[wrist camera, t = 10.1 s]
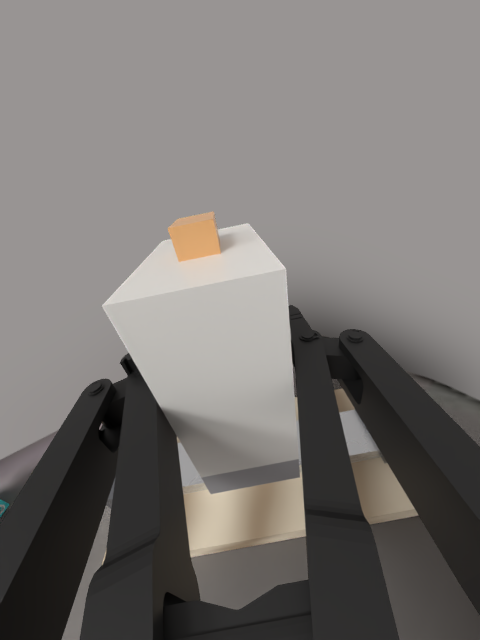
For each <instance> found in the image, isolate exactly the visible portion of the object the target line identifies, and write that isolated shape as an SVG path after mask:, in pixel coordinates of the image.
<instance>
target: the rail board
mask: <svg viewBox="0 0 480 640" xmlns="http://www.w3.org/2000/svg"><path fill="white" fill-rule="evenodd" d="M334 392H335V396H336V401H337V405H338V409H339V412H344V411H350V410H355V408H354V407H353V405H352V403H351V402H350V400H349V398H348V397H347V395H346V393H345V392H344V390H343V388H342V389H336V390H334ZM295 411H296V421H297V420H298V404H297V397H295ZM177 443H180V440H179V439H178V437H177ZM351 465H352V469H353V473H354V478H355V482H356V486H357V491H358V495H359V499H360V504H361V507H362V511H363V514H364V516H365V518H366V519H367V521H368V522H369V525H370V524H375V523H381V522H386V521H392V520H397V519H402V518H408V517H413V516H419V515H418V513H417V512H416V510H415V508H414V507H413V505H412V503H411V502H410V500H409V498H408V497H407V495H406V493H405V492H404V490H403V488H402V487H401V485H400V483H399V482H398V480H397V478H396V477H395V475H394V473H393V472H392V470H391V468H390V467H389V465H388V463H384V461H383V460H382V458H381V457H380V458H375V459H369V460H364V461H359V462H353V463H351ZM183 496H184V504H185V513H186V522H187V531H188V539H189V548H190V556H191V557H196V556H201V555H207V554H212V553H218V552H223V551H228V550H234V549H239V548H245V547H250V546H256V545H261V544H267V543H272V542H277V541H283V540H288V539H294V538H299V537H305V536H306V530H305V514H304V499H303V483H302V472H300V477H299V478H294V479H289V480H283V481H278V482H273V483H267V484H262V485H257V486H252V487H246V488H241V489H236V490H231V491H225V492H220V493H215V494H210V492H209V490H203V491H198V492H193V493H187V494H183ZM106 550H107V549H106ZM105 556H106V552H105ZM105 556H104V559H103V562H104V560H105ZM103 562H102V565H103Z"/></svg>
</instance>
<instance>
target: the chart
mask: <svg viewBox="0 0 480 640" xmlns="http://www.w3.org/2000/svg"><path fill="white" fill-rule="evenodd" d="M9 505H10V504H8V503H6V502H4V501H2V500H1V499H0V517H1V516H2V515H3V513H4V512H5V510H6V509H7V507H8V506H9Z"/></svg>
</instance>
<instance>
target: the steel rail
mask: <svg viewBox="0 0 480 640" xmlns="http://www.w3.org/2000/svg"><path fill="white" fill-rule="evenodd" d="M339 413H340V418H341V422H342V426H343V431H344V435H345V439H346V443H347V448H348V452H349V456H350V461H351V463H353V462H359V461H364V460H369V459H375V458H380V457H381V458H382V460H383V461H384V463H387V462H386V460H385V458H384V457H383V455H382V453H381V452H380V450H379V448H378V447H377V445H376V443H375V442H374V440H373V438H372V437H371V435H370V433H369V432H368V430H367V428H366V427H365V425H364V423H363V422H362V420H361V418H360V417H359V415H358V413H357V412H356V410H350V411H344V412H339ZM296 426H297V441H298V456H299V471H300V472H302V467H301V451H300V435H299V420H297V421H296ZM178 452H179V461H180V469H181V478H182V487H183V494H187V493H193V492H198V491H203V490H208V489H207V487H206V485H205V484H204V482H203V480H202V478H201V477H200V475H199V473H198V471H197V470H196V468H195V466H194V465H193V463H192V461H191V459H190V458H189V456H188V454H187V452H186V451H185V449H184V447H183V446H182V444H181V442H180V443H178ZM114 484H115V479H114V482H113V485H112V488H111V491H110V494H109V497H108V500H107V503H106V505H107V506H108V507H110V508H111V509H112V501H113V492H114Z"/></svg>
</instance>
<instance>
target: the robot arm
mask: <svg viewBox="0 0 480 640" xmlns="http://www.w3.org/2000/svg"><path fill="white" fill-rule="evenodd" d="M288 307H289V322H290V336H291V351H292V366H293V364H294V367H295V372H296V388H297V404H298V420H299V435H300V451H301V467H302V483H303V499H304V514H305V530H306V546H307V562H308V578H309V580H304V581H299V582H293V583H288V584H282V585H278V586H276V587H274V588H273V589H271V590H270V591H268V592H267V593H265V594H264V595H262V596H260V597H259V598H257V599H256V600H254V601H253V602H251V603H250V604H248V605H246V606H245V607H243V608H242V609H239V610H233V609H230V608H226V607H222V606H218V605H214V604H210V603H206V602H202V601H200V594H199V588H198V583H197V578H196V575H195V572H194V569H193V566H192V562H191V556H190V548H189V539H188V531H187V522H186V513H185V504H184V496H183V487H182V478H181V469H180V461H179V452H178V443H177V435H176V433H175V432H174V430H173V428H172V427H171V425H170V423H169V421H168V420H167V418H166V416H165V414H164V413H163V411H162V409H161V408H160V406H159V404H158V402H157V401H156V399H155V397H154V395H153V394H152V392H151V390H150V389H149V387H148V385H147V383H146V382H145V380H144V378H143V376H142V375H141V373H140V371H139V370H138V368H137V366H136V364H135V363H134V361H133V359H132V357H131V356H130V354H129V353H128V354H127V355H125V357H124V358H123V359H122V360H121V362H120V364H121V365H122V367H123V368H124V370H125V372H126V373H127V375H128V377H127V378H125V379H123V380H121V381H118V382H116V383H114V384H112V382H111V381H110V380H109V379H101V380H98V381H96V382H94V383H92V384H90V385H89V386H88V387H87V388H86V389H85V390H84V391H83V392H82V394H81V396H80V397H79V399H78V400H77V402H76V404H75V405H74V407H73V409H72V410H71V412H70V413H69V415H68V416H67V418H66V420H65V421H64V423H63V425H62V426H61V428H60V429H59V431H58V432H57V434H56V436H55V437H54V439H53V440H52V442H51V444H50V445H49V447H48V448H47V450H46V452H45V453H44V455H43V456H42V458H41V460H40V461H39V463H38V465H37V466H36V468H35V469H34V471H33V473H32V474H31V476H30V477H29V479H28V481H27V482H26V484H25V485H24V487H23V489H22V490H21V492H20V493H19V495H18V497H17V498H16V500H15V501H14V503H13V505H12V506H11V508H10V509H9V511H8V513H7V514H6V516H5V517H4V519H3V521H2V522H1V524H0V640H61V639H62V636H63V633H64V630H65V627H66V624H67V621H68V618H69V615H70V612H71V609H72V606H73V603H74V600H75V597H76V594H77V591H78V588H79V585H80V582H81V579H82V576H83V573H84V569H85V566H86V563H87V560H88V557H89V554H90V551H91V548H92V545H93V542H94V539H95V536H96V533H97V530H98V527H99V524H100V521H101V518H102V515H103V512H104V509H105V506H106V503H107V500H108V497H109V494H110V491H111V488H112V485H113V482H114V479H115V484H114V492H113V501H112V509H111V517H110V525H109V533H108V542H107V550H106V556H105V560H104V562H103V565H102V566H101V567H100V568H99V569H98V570H97V571H96V573H95V574H94V576H93V578H92V580H91V582H90V585H89V589H88V593H87V597H86V603H85V609H84V616H83V622H82V628H81V635H80V640H399V636H398V632H397V628H396V624H395V620H394V616H393V612H392V608H391V604H390V600H389V596H388V592H387V588H386V584H385V580H384V576H383V572H382V568H381V564H380V560H379V556H378V551H377V547H376V544H375V540H374V537H373V533H372V530H371V527H370V525H369V522H368V521H367V519H366V518H365V516H364V514H363V511H362V507H361V504H360V499H359V495H358V491H357V486H356V482H355V478H354V473H353V469H352V465H351V461H350V456H349V452H348V448H347V443H346V439H345V435H344V431H343V426H342V422H341V418H340V413H339V409H338V405H337V401H336V396H335V392H334V388H333V383H332V379H337V380H338V382H339V383H340V385H341V387H342V388H343V390H344V392H345V393H346V395H347V397H348V398H349V400H350V402H351V403H352V405H353V407H354V408H355V410H356V412H357V413H358V415H359V417H360V418H361V420H362V422H363V423H364V425H365V427H366V428H367V430H368V432H369V433H370V435H371V437H372V438H373V440H374V442H375V443H376V445H377V447H378V448H379V450H380V452H381V453H382V455H383V457H384V458H385V460H386V462H387V463H388V465H389V467H390V468H391V470H392V472H393V473H394V475H395V477H396V478H397V480H398V482H399V483H400V485H401V487H402V488H403V490H404V492H405V493H406V495H407V497H408V498H409V500H410V502H411V503H412V505H413V507H414V508H415V510H416V512H417V513H418V515H419V517H420V518H421V520H422V522H423V523H424V525H425V527H426V528H427V530H428V532H429V533H430V535H431V537H432V538H433V540H434V542H435V543H436V545H437V547H438V548H439V550H440V552H441V553H442V555H443V557H444V558H445V560H446V562H447V563H448V565H449V567H450V568H451V570H452V572H453V573H454V575H455V577H456V578H457V580H458V582H459V583H460V585H461V587H462V588H463V590H464V591H465V593H466V594H467V596H468V598H469V599H470V601H471V602H472V604H473V605H474V607H475V608H476V610H477V612H478V613H479V615H480V447H479V446H478V445H477V444H476V443H475V442H474V441H473V440H472V439H471V438H470V437H469V436H468V435H467V434H466V433H465V431H464V430H463V429H462V428H461V427H460V426H459V425H458V424H457V423H456V422H455V421H454V420H453V419H452V418H451V417H450V416H449V415H448V414H447V413H446V412H445V411H444V410H443V409H442V408H441V407H440V406H439V405H438V404H437V403H436V402H435V401H434V400H433V399H432V398H431V397H430V396H429V395H428V394H427V393H426V392H425V391H424V390H423V389H422V388H421V387H420V386H419V385H418V384H417V383H416V382H415V381H414V380H413V379H412V378H411V377H410V376H409V375H408V374H407V373H406V372H405V371H404V370H403V369H402V368H401V367H400V366H399V365H398V364H397V363H396V362H395V360H394V359H393V358H392V357H391V356H390V355H389V354H388V353H387V352H386V351H385V350H383V348H382V347H381V346H380V345H379V344H378V343H377V342H376V341H375V340H374V339H373V338H372V337H371V336H370V335H369V334H367V333H366V332H364V331H361V330H355V329H350V330H345V331H343V332H342V333H341V334H340V336H339V338H326V337H322V336H321V335H320V334H319V333H318V332H317V331H314V330H312V329H311V328H310V326H309V325H308V323H307V322H306V320H305V319H304V318H303V316H302V314H301V312H300V311H299V309H298V308H296V307H294V306H293V305H291V306H288ZM101 423H102V424H103V425H102V428H101V429H100V430H99V427H100V425H101Z"/></svg>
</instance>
